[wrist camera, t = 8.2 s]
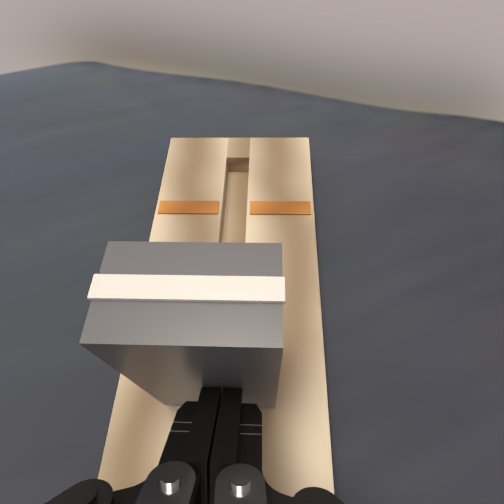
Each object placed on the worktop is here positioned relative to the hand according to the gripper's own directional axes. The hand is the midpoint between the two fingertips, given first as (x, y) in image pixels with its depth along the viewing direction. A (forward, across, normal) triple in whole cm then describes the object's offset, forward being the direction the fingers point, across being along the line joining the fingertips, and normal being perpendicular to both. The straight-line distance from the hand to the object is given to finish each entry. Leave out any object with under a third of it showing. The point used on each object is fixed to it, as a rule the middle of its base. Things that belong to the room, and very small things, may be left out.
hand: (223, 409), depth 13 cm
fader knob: (+6, 0, -3) cm, 6 cm away
